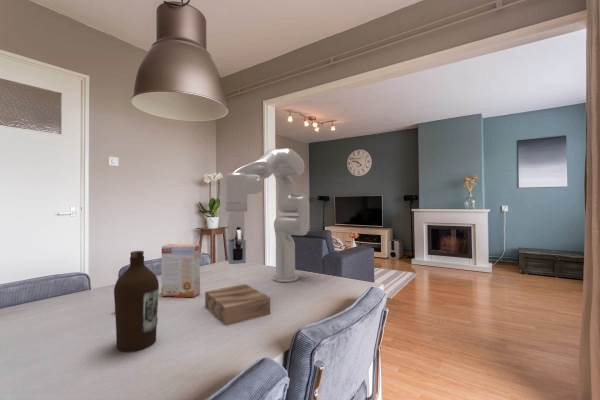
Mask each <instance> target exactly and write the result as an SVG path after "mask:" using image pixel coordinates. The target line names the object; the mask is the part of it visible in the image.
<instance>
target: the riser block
mask: <svg viewBox="0 0 600 400" xmlns="http://www.w3.org/2000/svg"><path fill="white" fill-rule="evenodd" d="M204 292H205V293H204V295H205V296H204V303H205V304H204V306H205V308H206V309H207V310H208V311H209V312H210V313H211V314H213V316H215V317H216V318H217V319H218V320H219V321H220V322H221V323H222V324H223V325H224V326H228V325H233V324H236V323H240V322H244V321H248V320H251V319H255V318H260V317H264V316H267V315H270V314H271V297H270V296H268V295H266V294H265V293H262V292H261V291H259V290H257V289H255V288H253V287H252V286H250V285H248V284H246V283H245V284H244V283H243V284H239V285H232V286H228V287H222V288H218V289H217V288H216V289H211V290H206V291H204Z"/></svg>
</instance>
